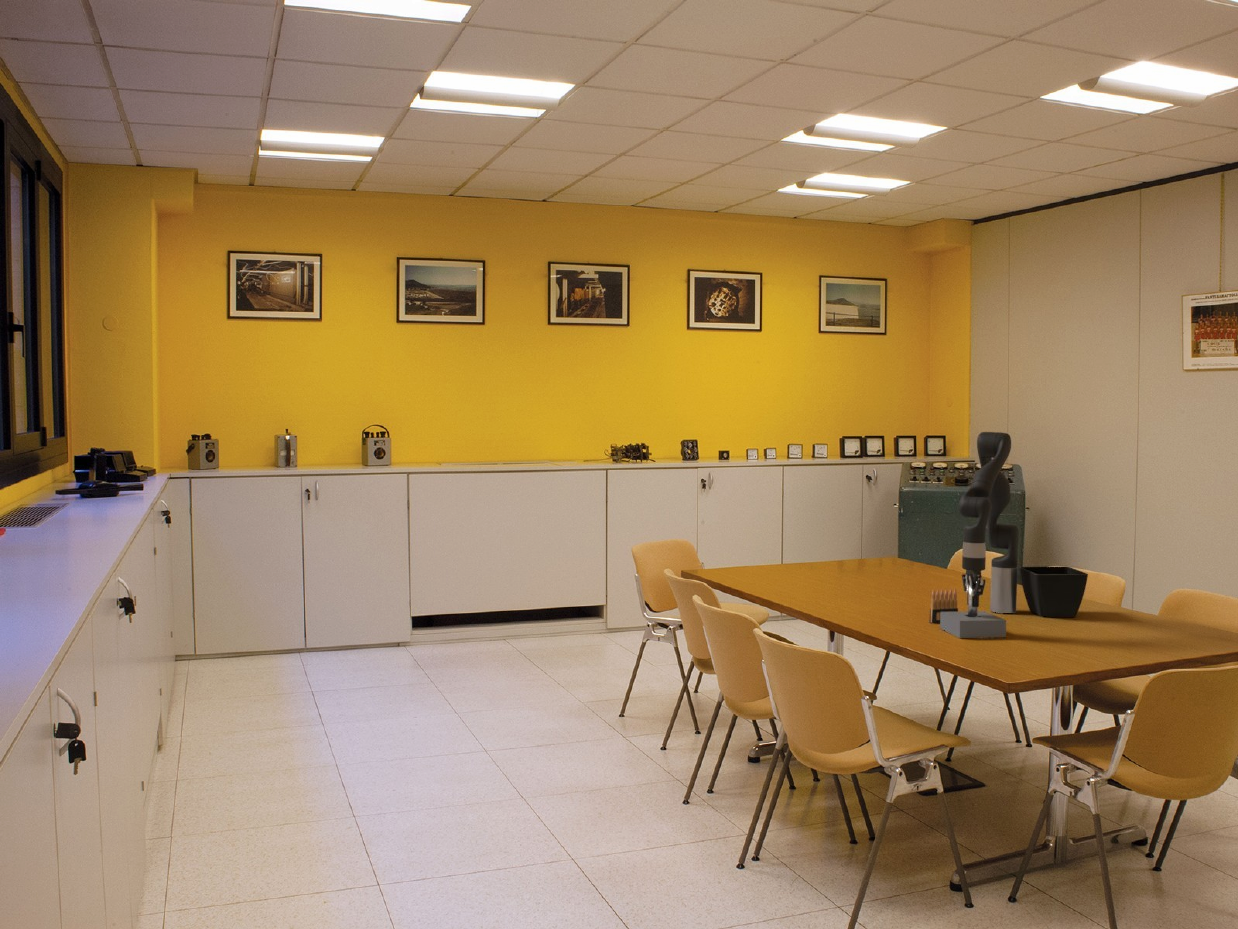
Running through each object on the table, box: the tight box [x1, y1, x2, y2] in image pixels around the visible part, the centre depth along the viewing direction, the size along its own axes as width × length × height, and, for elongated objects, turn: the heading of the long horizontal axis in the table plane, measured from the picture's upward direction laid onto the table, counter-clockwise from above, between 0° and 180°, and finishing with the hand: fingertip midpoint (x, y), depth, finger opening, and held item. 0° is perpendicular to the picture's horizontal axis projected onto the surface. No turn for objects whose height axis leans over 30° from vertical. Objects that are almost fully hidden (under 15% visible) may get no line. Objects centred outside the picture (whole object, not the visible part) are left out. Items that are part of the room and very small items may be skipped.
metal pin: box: [967, 585, 979, 616], centre depth 349 cm, size 3×3×10 cm
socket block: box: [939, 610, 1007, 639], centre depth 350 cm, size 16×16×6 cm
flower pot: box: [1018, 566, 1089, 618], centre depth 385 cm, size 19×19×17 cm
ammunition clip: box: [928, 588, 959, 624], centre depth 368 cm, size 11×2×12 cm, turn 105°
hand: (972, 605), depth 350 cm, fingers closed on metal pin, 3 cm apart
